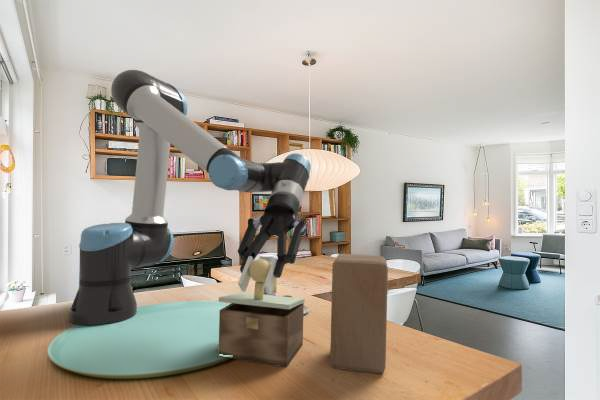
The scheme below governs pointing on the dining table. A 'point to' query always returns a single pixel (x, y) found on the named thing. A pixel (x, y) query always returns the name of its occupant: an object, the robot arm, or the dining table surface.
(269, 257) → the supplement bottle
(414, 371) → the dining table surface
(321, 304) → the dining table surface
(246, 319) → the box
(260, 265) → the lid
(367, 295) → the block
